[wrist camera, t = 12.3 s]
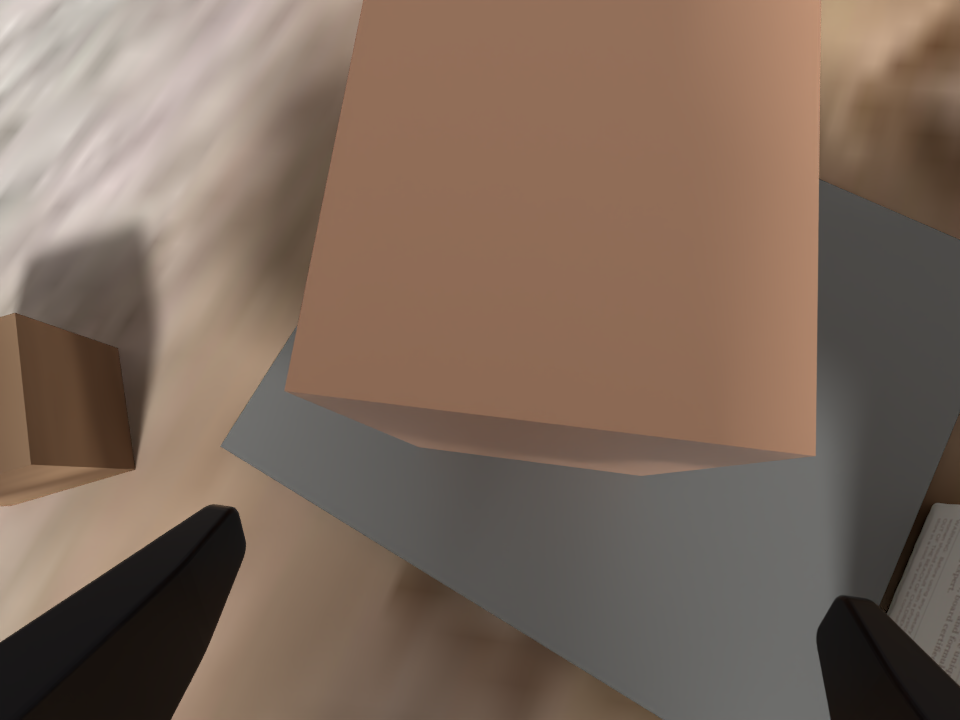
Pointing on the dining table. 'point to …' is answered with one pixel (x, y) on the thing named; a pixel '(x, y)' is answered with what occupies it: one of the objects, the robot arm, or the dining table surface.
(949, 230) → the dining table surface
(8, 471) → the walnut block
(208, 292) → the dining table surface
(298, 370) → the peach tall cube
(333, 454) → the charcoal mat
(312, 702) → the dining table surface
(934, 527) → the supplement box
